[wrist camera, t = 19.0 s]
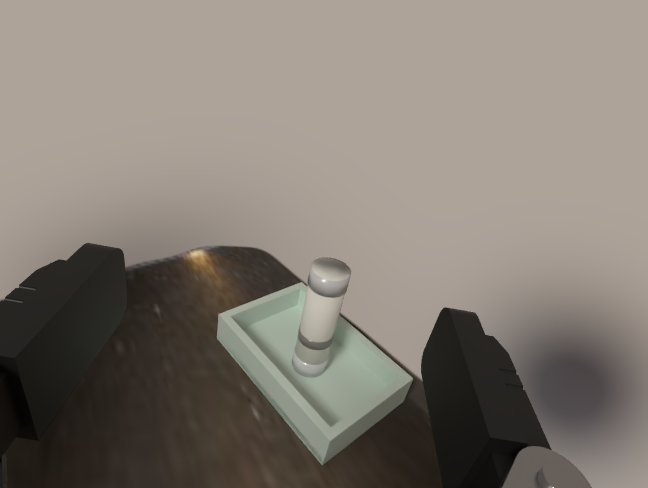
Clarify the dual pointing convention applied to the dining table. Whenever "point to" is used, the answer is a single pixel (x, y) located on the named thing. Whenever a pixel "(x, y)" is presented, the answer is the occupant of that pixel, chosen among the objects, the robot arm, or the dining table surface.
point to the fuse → (320, 315)
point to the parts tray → (319, 392)
